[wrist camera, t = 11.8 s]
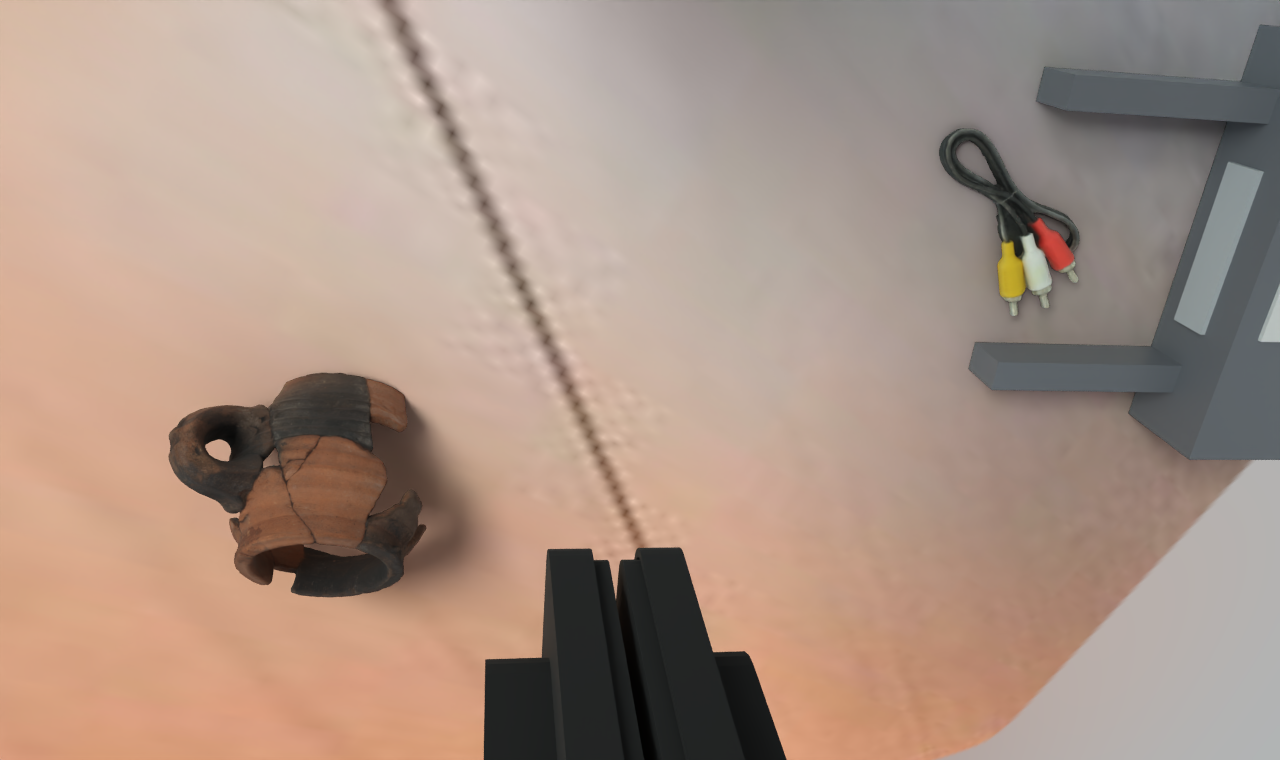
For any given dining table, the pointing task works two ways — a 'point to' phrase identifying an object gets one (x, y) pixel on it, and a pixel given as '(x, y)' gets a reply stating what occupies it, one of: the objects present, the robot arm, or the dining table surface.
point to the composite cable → (1015, 225)
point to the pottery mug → (305, 483)
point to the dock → (1190, 274)
